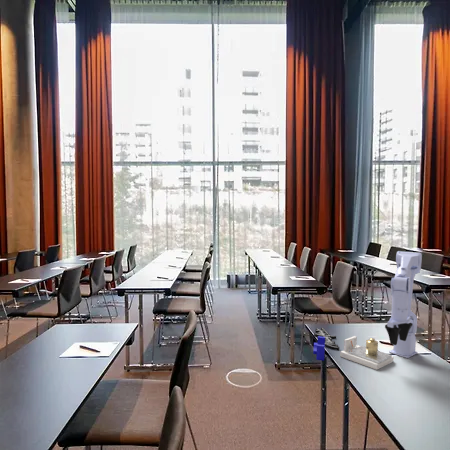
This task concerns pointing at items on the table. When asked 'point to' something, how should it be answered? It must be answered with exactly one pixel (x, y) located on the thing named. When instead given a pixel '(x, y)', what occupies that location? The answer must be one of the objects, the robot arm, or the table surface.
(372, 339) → the brass weight
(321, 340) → the blue stepped block
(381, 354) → the pan
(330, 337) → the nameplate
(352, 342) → the scale base
